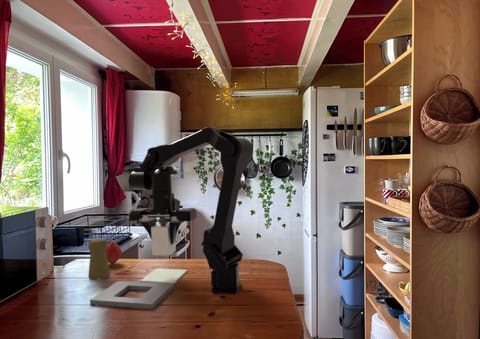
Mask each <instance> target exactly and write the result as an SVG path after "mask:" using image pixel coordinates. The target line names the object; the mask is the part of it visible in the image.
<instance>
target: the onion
mask: <svg viewBox="0 0 480 339" xmlns="http://www.w3.org/2000/svg"><path fill="white" fill-rule="evenodd" d="M122 253H123V252H122V249H121V247H120V246H119V244H117V243H116V242H114V240H113V239H112V240H110V242H109V243H107V248H106V255H107V260H108V264H111V265H115V264H116V263H117V262H118V261H119V260H120V259H121V257H122V255H123V254H122Z"/></svg>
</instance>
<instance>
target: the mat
mask: <svg viewBox="0 0 480 339" xmlns="http://www.w3.org/2000/svg"><path fill="white" fill-rule="evenodd" d="M187 272H188V269H179V268H177V269H173V268H155V269H154V270H153V271H151V272H150V273H148V274H147V275H145V277H144V278H142V279H141V280H140V282H147V283H165V284H173V285H174V284H176V283H177V282H178V281H179V280H180V279H181V278H182V277H183V276H184V275H185V274H186V273H187Z"/></svg>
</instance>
